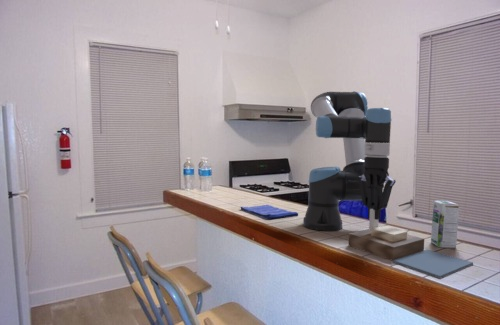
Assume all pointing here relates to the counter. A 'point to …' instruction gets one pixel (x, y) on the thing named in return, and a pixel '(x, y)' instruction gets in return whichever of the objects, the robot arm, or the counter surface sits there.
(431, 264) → the slate mat
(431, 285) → the counter surface
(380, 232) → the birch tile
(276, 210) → the dish towel
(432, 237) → the syrup box
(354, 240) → the plate
